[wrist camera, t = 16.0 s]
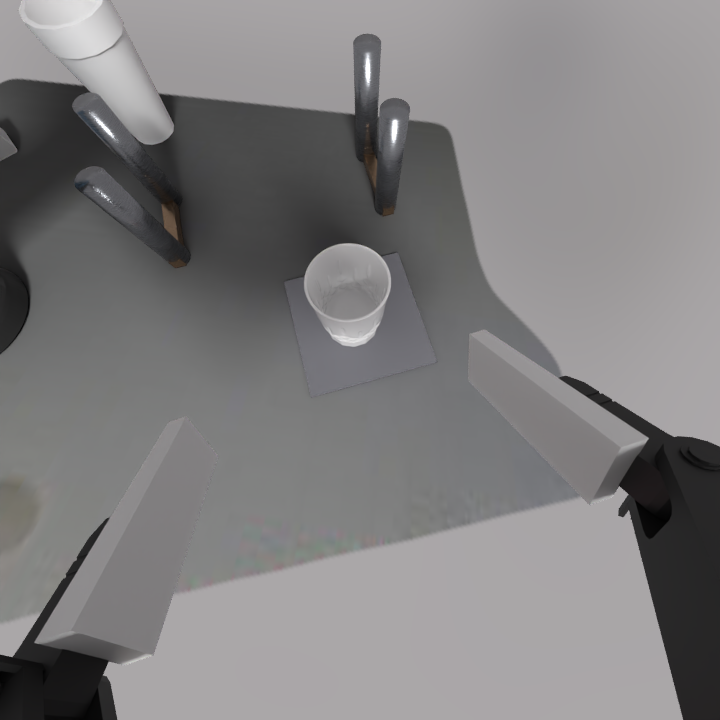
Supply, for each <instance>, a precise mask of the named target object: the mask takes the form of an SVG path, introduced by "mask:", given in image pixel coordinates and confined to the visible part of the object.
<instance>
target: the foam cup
mask: <svg viewBox="0 0 720 720" xmlns="http://www.w3.org/2000/svg"><path fill="white" fill-rule="evenodd" d="M18 11H19V13H20V15H21V18H22V20H23V22H24V23H25V24H26V25H27V27H28V28H29V29H30V30H31V31H32V32H33V34H34V35H35V36H36V37H37V38H38V39H39V41H40V42H41V43H42V44H43V45H44V46H45V48H46V49H47V50H48V51H49V52H51V53H53V54H54V55H55V56H56V57H57V58H58V59H59V60H60V61H61V62H62V63H63V64H64V65H65V66H66V67H67V68H68V69H69V70H70V71H71V72H72V73H73V74H74V75H75V77H76V78H78V80H80V82H81V83H82V84H83V85H84V86H85V87H86V88H87V89H88V90H89V91H90V92H91V93H96V94H98V95H100V96H101V98H102V99H103V100H104V101H105V103H106V104H107V105H108V106H109V108H110V109H111V110H112V111H113V112H114V114H115V115H116V116H117V117H118V119H119V120H120V121H121V122H122V124H123V125H124V126H125V127H126V128H127V130H128V131H129V132H130V133H131V134H132V135H133V136H134V137H136V139H137V140H138V141H140V142H142V143H143V144H149V145H154V144H158V143H162V142H163V141H165V140H166V139H168V138H169V137H170V135H171V134H172V133H173V130H174V124H173V122H172V119H171V117H170V116H169V114H168V112H167V110H166V108H165V106H164V104H163V102H162V100H161V98H160V96H159V94H158V92H157V90H156V88H155V86H154V84H153V83H152V81H151V79H150V77H149V75H148V73H147V71H146V69H145V67H144V65H143V63H142V61H141V59H140V57H139V55H138V53H137V51H136V49H135V48H134V46H133V44H132V42H131V40H130V38H129V36H128V34H127V32H126V30H125V28H124V26H123V24H124V23H123V21H122V19H121V17H120V16H119V14H118V12H117V11H116V9H115V7H114V6H113V4H112V3H111V1H110V0H22V1H21V4H20V7H19V10H18Z"/></svg>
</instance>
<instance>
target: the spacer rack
mask: <svg viewBox="0 0 720 720" xmlns="http://www.w3.org/2000/svg"><path fill="white" fill-rule="evenodd" d="M353 45H354V84H355V121H356V156H357V158H358V160H359V161H361V162H363V163H364V165H365V168H366V171H367V174H368V177H369V179H370V182H371V185H372V188H373V191H374V193H375V210H376V212H377V213H379V214H380V215H382V216H387V215H391V214H393V213H394V210H395V207H396V200H397V193H398V187H399V180H400V173H401V167H402V160H403V153H404V147H405V140H406V133H407V127H408V120H409V113H410V107H409V105H408V103H407V102H405V101H404V100H402V99H397V98H392V99H388V100H386V101H384V102H383V103H382V104H381V106H380V117H379V136H378V155H377V159H376V140H377V119H378V97H379V75H380V74H379V73H380V54H381V41H380V39H379V38H378V37H377V36H375V35H372V34H363V35H360V36H358V37H357V38H356V39H355V40H354V43H353ZM72 108H73V110H74V111H75V112H76V114H77V115H78V116H79V117H80V118H81V119H82V120H83V121H84V122H85V123H86V124H87V125H88V126H89V127H90V128H91V130H92V131H93V132H94V133H95V134H96V135H97V136H98V137H99V138H100V139H101V140H102V141H103V142H104V143H105V144H106V146H107V147H108V148H109V149H110V150H111V151H112V152H113V153H114V154H115V155H116V156H117V157H118V158H119V159H120V160H121V162H122V163H123V164H124V165H125V166H126V167H127V168H128V169H129V170H130V171H131V172H132V173H133V174H134V175H135V176H136V178H137V179H138V180H139V181H140V182H141V183H142V184H143V185H144V186H145V187H146V188H147V189H148V190H149V191H150V192H151V194H152V195H153V196H154V197H155V198H156V199H157V200H158V201H159V202H160V203H161V204H162V212H163V220H164V227H163V226H162V225H161V224H160V223H159V222H158V221H157V220H156V219H155V218H154V217H153V216H152V215H151V214H150V213H149V212H148V211H147V210H145V209H144V208H143V207H142V206H141V205H140V204H139V203H138V202H137V201H136V200H135V199H134V198H133V197H132V196H131V195H130V194H129V193H128V192H127V191H126V190H125V189H124V188H123V187H122V186H121V185H120V184H119V183H117V182H116V181H115V180H114V179H113V178H112V177H111V176H110V175H109V174H108V173H107V172H106V171H105V170H104V169H103V168H101V167H98V166H91V167H87V168H85V169H83V170H81V171H80V172H79V173H78V174H77V176H76V177H75V180H74V184H75V187H76V188H77V189H78V190H79V191H80V192H82V193H83V194H84V195H85V196H87V197H88V198H89V199H90V200H92V201H93V202H94V203H95V204H97V205H98V206H99V207H100V208H102V209H103V210H104V211H105V212H106V213H108V214H109V215H110V216H111V217H113V218H114V219H115V220H116V221H118V222H119V223H120V224H121V225H123V226H124V227H125V228H126V229H128V230H129V231H130V232H131V233H133V234H134V235H135V236H136V237H137V238H139V239H140V240H141V241H142V242H144V243H145V244H146V245H147V246H149V247H150V248H151V249H152V250H154V251H155V252H156V253H157V254H159V255H160V256H161V257H162V258H164V259H165V260H166V261H167V262H168V263H169V264H171V265H172V266H173V267H174V268H178V267H182V266H186V265H187V263H188V262H189V260H190V252H189V251H188V250H187V249H186V248H185V247H184V242H183V235H182V228H181V221H180V214H179V207H178V206H179V205H180V204H181V202H182V196H181V195H180V194H179V192H178V191H177V190H176V189H175V187H174V186H173V185H172V184H171V183H170V181H169V180H168V179H167V178H166V176H165V175H164V174H163V173H162V171H161V170H160V169H159V168H158V167H157V165H156V164H155V163H154V162H153V160H152V159H151V158H150V157H149V155H148V154H147V153H146V152H145V151H144V149H143V148H142V147H141V146H140V144H139V143H138V142H137V141H136V139H135V138H134V137H133V136H132V135H131V133H130V132H129V131H128V130H127V128H126V127H125V126H124V125H123V124H122V122H121V121H120V120H119V119H118V117H117V116H116V115H115V114H114V112H113V111H112V110H111V109H110V108H109V106H108V105H107V104H106V103H105V101H104V100H103V99H102V98H101V96H100V95H98V94H96V93H85V94H82V95H80V96H78V97H77V98H76V99H75V100H74V102H73V104H72Z"/></svg>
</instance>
